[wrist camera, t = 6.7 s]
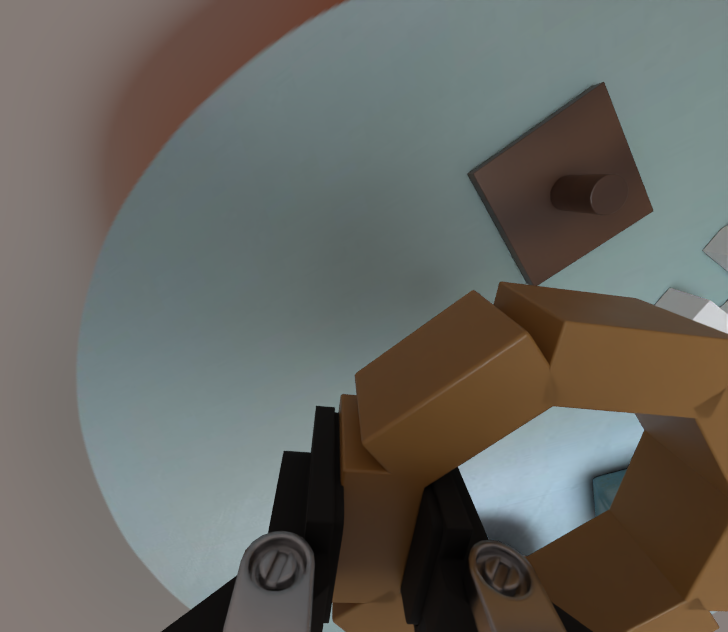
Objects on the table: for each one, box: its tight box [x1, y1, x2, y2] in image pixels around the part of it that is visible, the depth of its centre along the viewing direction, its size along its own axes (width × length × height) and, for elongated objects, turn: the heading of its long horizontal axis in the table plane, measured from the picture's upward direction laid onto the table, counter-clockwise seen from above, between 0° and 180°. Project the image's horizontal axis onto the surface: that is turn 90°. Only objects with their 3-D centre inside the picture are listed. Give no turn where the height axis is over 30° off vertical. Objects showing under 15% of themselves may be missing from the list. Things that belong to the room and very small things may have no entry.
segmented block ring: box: [332, 282, 728, 632], centre depth 10 cm, size 11×11×3 cm
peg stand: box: [468, 82, 653, 286], centre depth 26 cm, size 10×10×6 cm
